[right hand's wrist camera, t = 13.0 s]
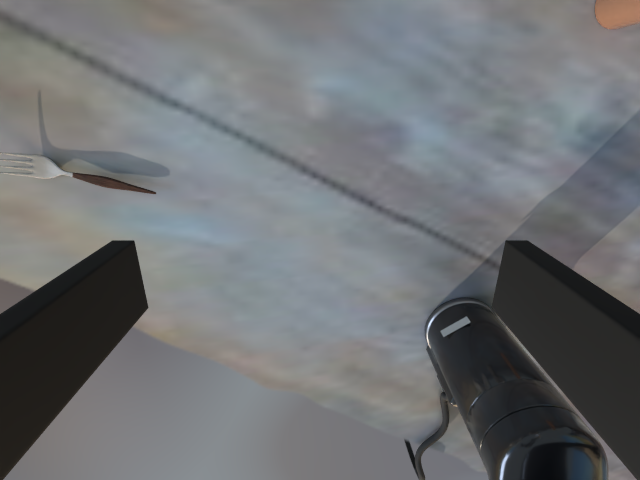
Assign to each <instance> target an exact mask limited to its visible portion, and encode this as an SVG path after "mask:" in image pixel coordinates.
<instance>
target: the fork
mask: <svg viewBox="0 0 640 480" xmlns="http://www.w3.org/2000/svg"><path fill="white" fill-rule="evenodd" d="M0 154H7V155H14V156H21V157H27V158H31V159H32V160H8V159H0V160H3V161H10V162H18V163H26V164H30V165H32V166H31V167H21V166H0V167H7V168H15V169H24V170H30V171H32V173H13V172H0V173H4V174H13V175H22V176H30V177H36V178H43V179H48V178H53V177H56V176H59V175H67V176H71V177H74V178H77V179H80V180H83V181H86V182H89V183H92V184H95V185H98V186H102V187H107V188H113V189H121V190H129V191H136V192H143V193H150V194H156V192H153V191H150V190H147V189H144V188H140V187H137V186H134V185H130V184H127V183H124V182H121V181H118V180H115V179H112V178H108V177H103V176H97V175H89V174H80V173H72V172H66V171H64V170H62V169H61V168H60V167H58V166H57V165H56V164H55V163H54V162H53V161H52V160H51V159H49V158H47V157H45V156H42V155H33V154H18V153H0Z"/></svg>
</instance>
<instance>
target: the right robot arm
mask: <svg viewBox="0 0 640 480" xmlns="http://www.w3.org/2000/svg"><path fill="white" fill-rule="evenodd" d="M147 309H148V304H147V299H146V294H145V290H144V285H143V280H142V275H141V271H140V266H139V261H138V256H137V252H136V247H135V242H134V241H111V242H110V243H108V244H107V245H105V246H104V247H102V248H100V249H99V250H97V251H96V252H94V253H93V254H91V255H90V256H88V257H87V258H85V259H84V260H82V261H81V262H79V263H78V264H76V265H75V266H73V267H71V268H70V269H68V270H67V271H65V272H64V273H62V274H61V275H59V276H58V277H56V278H55V279H53V280H52V281H50V282H49V283H47V284H46V285H44V286H42V287H41V288H39V289H38V290H36V291H35V292H33V293H32V294H30V295H29V296H27V297H26V298H24V299H23V300H21V301H20V302H18V303H17V304H15V305H14V306H12V307H10V308H9V309H7V310H6V311H4V312H3V313H1V314H0V480H3V479H4V478H5V477H6V475H7V474H8V473H9V472H10V471H11V469H12V468H13V467H14V466H15V465H16V464H17V462H18V461H19V460H20V459H21V458H22V456H23V455H24V454H25V453H26V452H27V451H28V449H29V448H30V447H31V446H32V445H33V444H34V442H35V441H36V440H37V439H38V438H39V436H40V435H41V434H42V433H43V432H44V431H45V429H46V428H47V427H48V426H49V425H50V423H51V422H52V421H53V420H54V419H55V417H56V416H57V415H58V414H59V413H60V412H61V410H62V409H63V408H64V407H65V406H66V404H67V403H68V402H69V401H70V400H71V399H72V397H73V396H74V395H75V394H76V393H77V391H78V390H79V389H80V388H81V387H82V386H83V384H84V383H85V382H86V381H87V380H88V378H89V377H90V376H91V375H92V374H93V373H94V371H95V370H96V369H97V368H98V367H99V365H100V364H101V363H102V362H103V361H104V360H105V358H106V357H107V356H108V355H109V354H110V352H111V351H112V350H113V349H114V348H115V347H116V345H117V344H118V343H119V342H120V341H121V339H122V338H123V337H124V336H125V335H126V334H127V332H128V331H129V330H130V329H131V328H132V326H133V325H134V324H135V323H136V322H137V321H138V319H139V318H140V317H141V316H142V315H143V313H144V312H145V311H146V310H147ZM492 309H493V310H494V311H495V312H496V313H497V315H498V316H499V317H500V318H501V319H502V321H503V322H504V323H505V324H506V325H507V326H508V328H509V329H510V330H511V331H512V332H513V334H514V335H515V336H516V337H517V338H518V339H519V341H520V342H521V343H522V344H523V345H524V347H525V348H526V349H527V350H528V351H529V352H530V354H531V355H532V356H533V357H534V358H535V360H536V361H537V362H538V363H539V364H540V365H541V367H542V368H543V369H544V370H545V371H546V373H547V374H548V375H549V376H550V377H551V378H552V380H553V381H554V382H555V383H556V384H557V386H558V387H559V388H560V389H561V390H562V391H563V393H564V394H565V395H566V396H567V397H568V399H569V400H570V401H571V402H572V403H573V404H574V406H575V407H576V408H577V409H578V410H579V412H580V413H581V414H582V415H583V416H584V417H585V419H586V420H587V421H588V422H589V423H590V425H591V426H592V427H593V428H594V429H595V431H596V432H597V433H598V434H599V435H600V436H601V438H602V439H603V440H604V441H605V442H606V444H607V445H608V446H609V447H610V448H611V449H612V451H613V452H614V453H615V454H616V455H617V457H618V458H619V459H620V460H621V461H622V462H623V464H624V465H625V466H626V467H627V468H628V470H629V471H630V472H631V473H632V474H633V475H634V477H635V478H636V479H637V480H640V314H639V313H637V312H636V311H634V310H633V309H631V308H630V307H628V306H627V305H625V304H623V303H622V302H620V301H619V300H617V299H616V298H614V297H613V296H611V295H610V294H608V293H607V292H605V291H604V290H602V289H601V288H599V287H598V286H596V285H594V284H593V283H591V282H590V281H588V280H587V279H585V278H584V277H582V276H581V275H579V274H578V273H576V272H575V271H573V270H572V269H570V268H569V267H567V266H565V265H564V264H562V263H561V262H559V261H558V260H556V259H555V258H553V257H552V256H550V255H549V254H547V253H546V252H544V251H543V250H541V249H540V248H538V247H536V246H535V245H533V244H532V243H530V242H529V241H506V242H505V247H504V252H503V256H502V261H501V266H500V271H499V275H498V280H497V285H496V290H495V294H494V299H493V304H492Z"/></svg>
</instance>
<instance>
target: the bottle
mask: <svg viewBox="0 0 640 480" xmlns="http://www.w3.org/2000/svg"><path fill="white" fill-rule="evenodd" d="M595 15H596V18H597V21H598V22H599V23H600V25H602V26H603V27H605V28H607V29H619V28H623V27H627V26H631V25H635V24H638V23H640V0H596V4H595Z"/></svg>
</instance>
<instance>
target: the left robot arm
mask: <svg viewBox="0 0 640 480" xmlns="http://www.w3.org/2000/svg"><path fill="white" fill-rule="evenodd" d="M425 337H426V340H427V343H428V347H427V349H426V350H427V352H428V354H429V357H430V359H431V361H432V364H433V366H434V368H435V371H436V373H437V377H438V379H439V382H440V384H441V386H442V389H443V391H445V392H442V393H441V396H440V402H441V407H442V413H443V422H442V425H441V427H440V428H439V430H438V431H437V432H436V433H435V434H434V435H432V436H431V437H430V438H428V439H427V440H426V441H425V442H423V443H422V444H421V445H420V447H419V448H418V450H417V452H416V455H415V456H414V453H413V450H412V447H411V444H410V441H407V440H405V439H404V441H405V444H406V447H407V450H408V453H409V457H410V459H411V462H412V465H413V468H414V470H415V472H416V475H417V477H418V478H419V480H425V475H424V472H423V469H422V465H421V456H422V454H423V452H424V451H425V450H426V449H427V448H428V447H429V446H431V445H432V444H433V443H435V442H436V441H437V440H439V439H440V438H441V437H442V436H443V435H444V433H445V432H446V430H447V428H448V424H449V411H448V405H447V401H449V402H450V404H451V405H453V406H456V407H458V409H459V411H460V413H461V415H462V418H463V420H464V422H465V424H466V426H467V429H468V431H469V433H470V435H471V437H472V439H473V441H474V444H475V446H476V448H477V450H478V452H479V455H480V457H481V459H482V462H483V464H484V466H485V468H486V471H487V474H488V477H489V480H608V461H607V457H606V454H605V451H604V449H603V447H602V445H601V443H600V442H599V440H598V439H597V438H596V436H595V435H594V434H593V433H592V431H591V430H590V429H589V428H588V427H587V425H586V424H585V423H584V422H583V421H582V419H581V418H580V417H579V416H578V414H577V413H576V412H575V411H574V410H573V408H572V407H571V406H570V405H569V404H568V402H567V401H566V400H565V399H564V398H563V396H562V395H561V394H560V393H559V392H558V390H557V389H556V388H555V387H554V386H553V385H552V383H551V382H550V381H549V380H548V379H547V377H546V376H545V375H544V374H543V372H542V371H541V370H540V369H539V368H538V366H537V365H536V364H535V363H534V362H533V360H532V359H531V358H530V357H529V356H528V354H527V353H526V352H525V351H524V350H523V348H522V347H521V346H520V345H519V344H518V342H517V341H516V340H515V339H514V338H513V336H512V335H511V334H510V333H509V332H508V330H507V329H506V328H505V327H504V325H503V324H502V323H501V322H500V321H499V319H498V318H497V317H496V315H495V313H494V312H493V311H492V310H491V309H490V307H489V306H487V305H486V304H485V303H483V302H481V301H479V300H476V299H472V298H458V299H454V300H451V301H448V302H446V303H444V304H442V305H441V306H439V307H438V308H437V309H435V310H434V311H433V313H432V314H431V315H430V317H429V318H428V320H427V322H426V326H425Z"/></svg>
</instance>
